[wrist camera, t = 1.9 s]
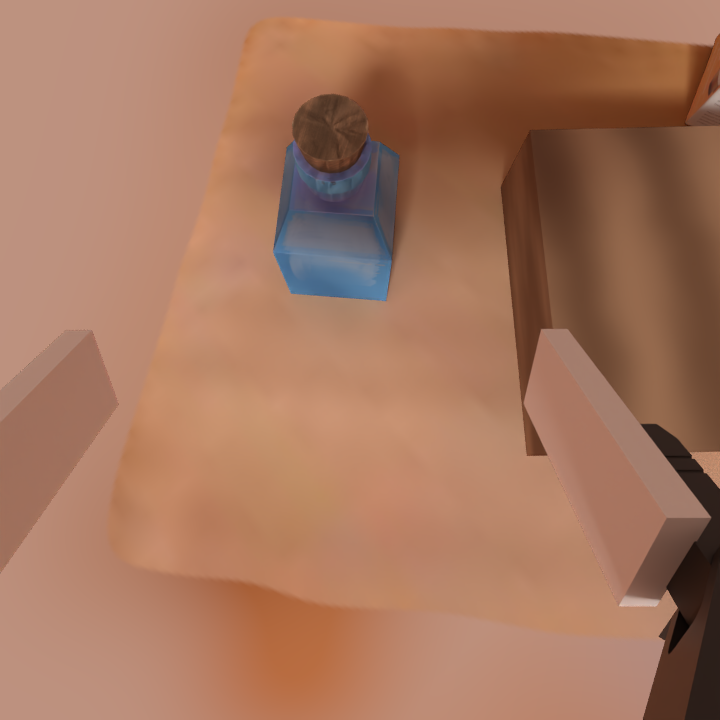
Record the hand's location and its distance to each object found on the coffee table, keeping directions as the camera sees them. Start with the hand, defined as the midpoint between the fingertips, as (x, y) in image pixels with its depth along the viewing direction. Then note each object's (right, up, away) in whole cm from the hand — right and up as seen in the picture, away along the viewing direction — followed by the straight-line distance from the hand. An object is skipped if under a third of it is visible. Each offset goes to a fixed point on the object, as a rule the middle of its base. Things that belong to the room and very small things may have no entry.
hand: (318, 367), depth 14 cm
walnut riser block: (+19, +3, +16) cm, 25 cm away
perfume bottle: (0, +7, +17) cm, 18 cm away
